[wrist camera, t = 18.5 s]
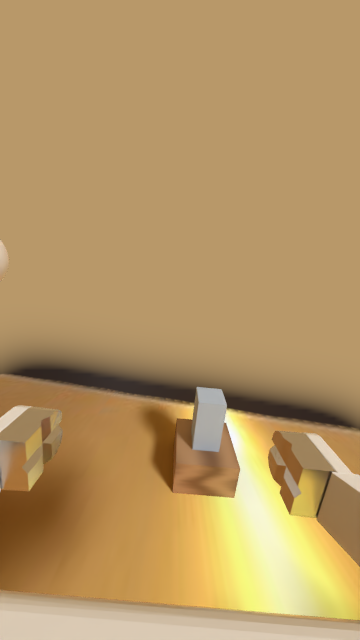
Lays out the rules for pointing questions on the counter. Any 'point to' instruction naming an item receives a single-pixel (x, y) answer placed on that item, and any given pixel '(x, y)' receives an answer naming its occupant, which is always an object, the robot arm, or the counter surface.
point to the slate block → (208, 419)
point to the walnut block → (203, 465)
